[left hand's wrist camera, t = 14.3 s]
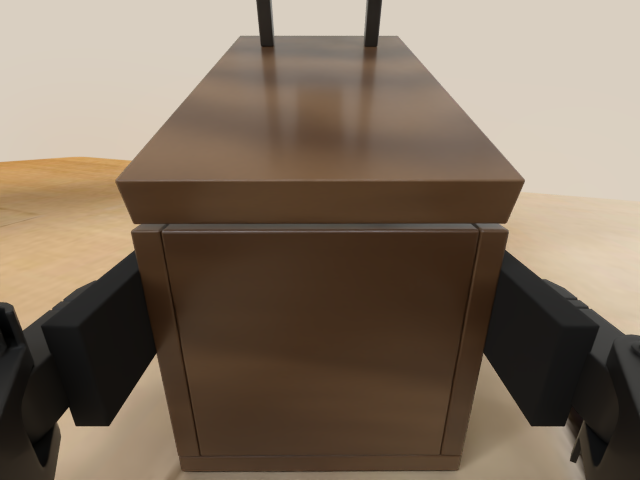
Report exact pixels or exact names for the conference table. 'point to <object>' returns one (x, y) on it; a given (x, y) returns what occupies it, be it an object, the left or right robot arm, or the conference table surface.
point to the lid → (319, 141)
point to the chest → (319, 340)
